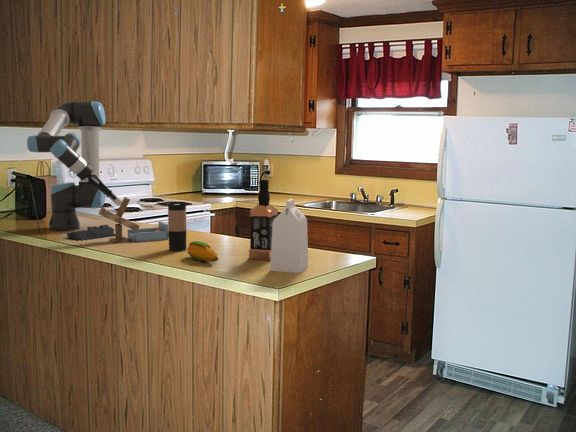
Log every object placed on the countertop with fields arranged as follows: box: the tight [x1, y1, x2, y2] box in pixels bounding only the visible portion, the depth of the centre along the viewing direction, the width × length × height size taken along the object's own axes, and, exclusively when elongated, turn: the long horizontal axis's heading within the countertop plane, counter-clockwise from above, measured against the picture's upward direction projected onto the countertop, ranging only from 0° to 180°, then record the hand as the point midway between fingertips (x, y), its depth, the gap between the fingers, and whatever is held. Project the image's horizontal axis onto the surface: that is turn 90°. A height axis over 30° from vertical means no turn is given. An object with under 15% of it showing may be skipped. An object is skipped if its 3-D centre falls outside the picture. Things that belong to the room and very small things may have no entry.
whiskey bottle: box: [248, 178, 279, 262], centre depth 249 cm, size 10×10×32 cm
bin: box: [127, 220, 169, 243], centre depth 290 cm, size 16×12×7 cm
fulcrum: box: [109, 223, 129, 244], centre depth 284 cm, size 7×7×8 cm
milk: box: [269, 198, 309, 274], centre depth 231 cm, size 12×12×26 cm
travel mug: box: [167, 202, 187, 252], centre depth 264 cm, size 8×8×20 cm
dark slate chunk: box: [66, 224, 115, 242], centre depth 295 cm, size 15×22×5 cm
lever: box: [98, 196, 141, 231], centre depth 284 cm, size 18×9×12 cm, turn 118°
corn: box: [187, 240, 219, 262], centre depth 245 cm, size 7×8×20 cm
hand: (120, 203), depth 286 cm, fingers closed
